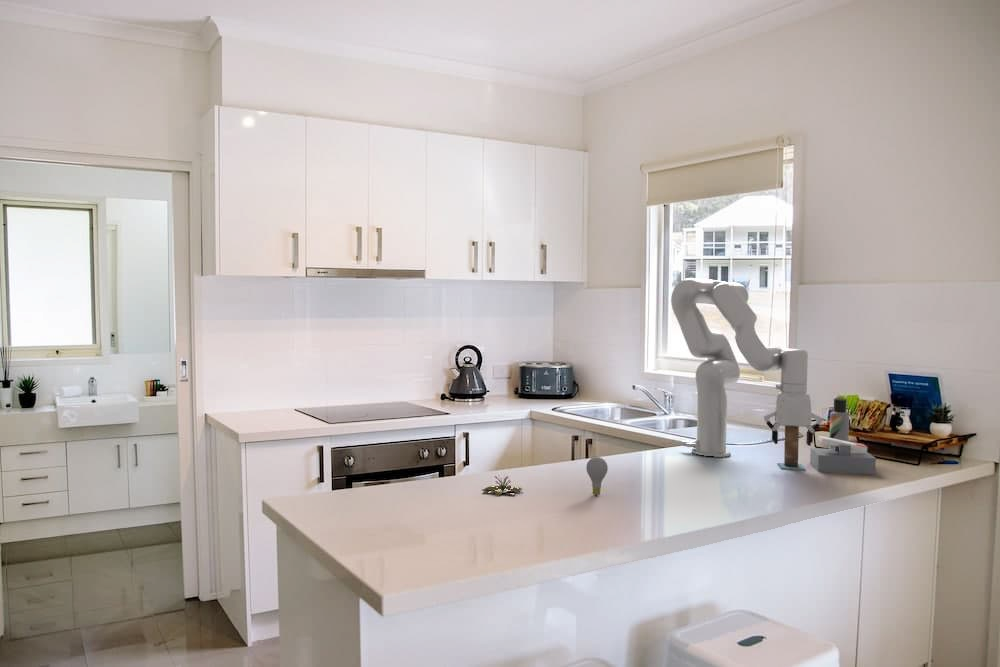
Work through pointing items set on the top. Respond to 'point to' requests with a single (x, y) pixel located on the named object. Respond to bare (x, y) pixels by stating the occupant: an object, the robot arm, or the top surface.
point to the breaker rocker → (843, 443)
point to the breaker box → (842, 460)
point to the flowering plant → (500, 487)
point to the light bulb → (596, 473)
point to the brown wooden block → (791, 446)
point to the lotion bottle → (839, 421)
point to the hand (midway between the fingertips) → (791, 444)
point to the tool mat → (791, 467)
